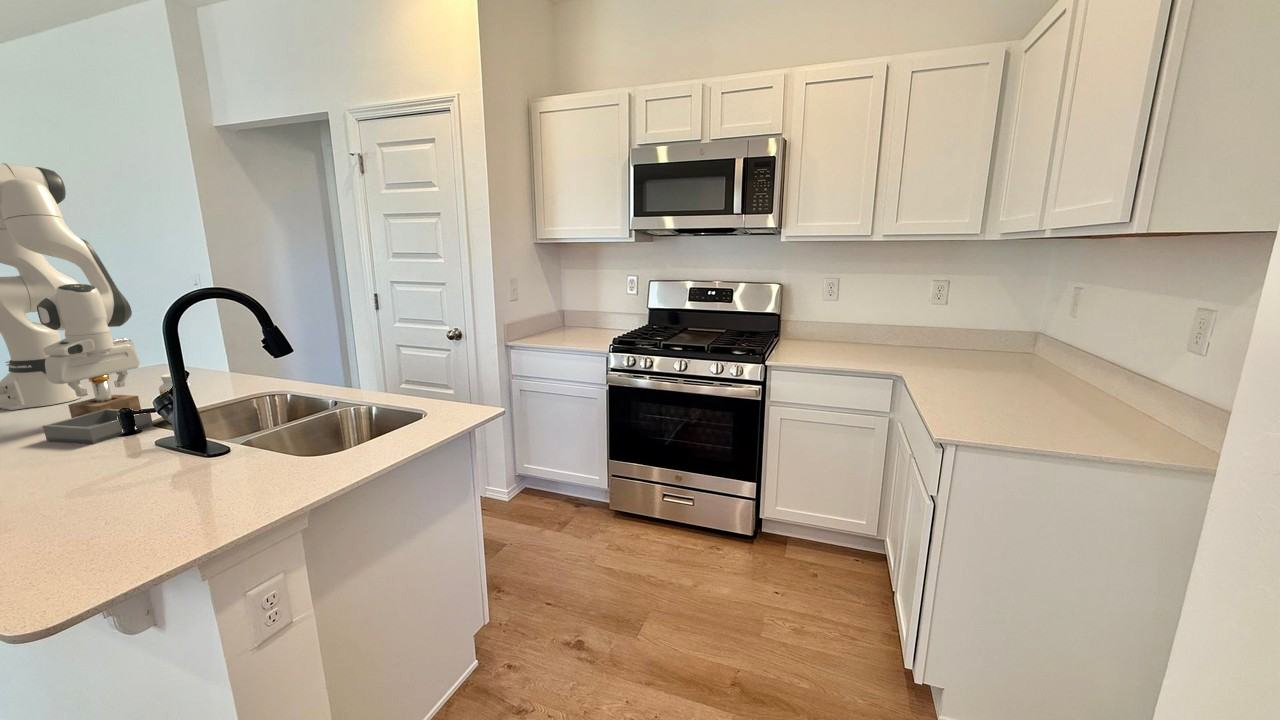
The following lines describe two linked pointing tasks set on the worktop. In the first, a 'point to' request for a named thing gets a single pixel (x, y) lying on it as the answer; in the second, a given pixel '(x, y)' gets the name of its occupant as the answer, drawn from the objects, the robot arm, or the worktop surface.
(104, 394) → the corked glass vial
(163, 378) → the supplement bottle
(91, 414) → the tray
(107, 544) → the worktop surface
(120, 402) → the socket block
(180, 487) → the worktop surface
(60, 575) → the worktop surface
